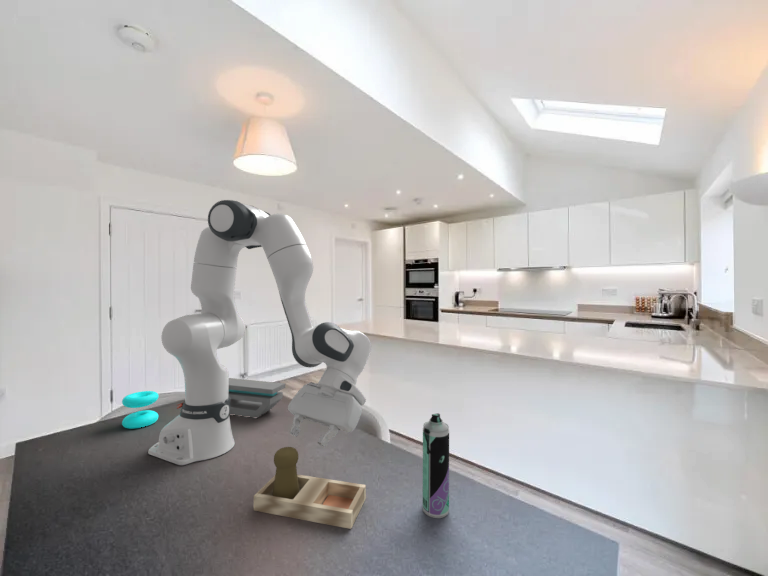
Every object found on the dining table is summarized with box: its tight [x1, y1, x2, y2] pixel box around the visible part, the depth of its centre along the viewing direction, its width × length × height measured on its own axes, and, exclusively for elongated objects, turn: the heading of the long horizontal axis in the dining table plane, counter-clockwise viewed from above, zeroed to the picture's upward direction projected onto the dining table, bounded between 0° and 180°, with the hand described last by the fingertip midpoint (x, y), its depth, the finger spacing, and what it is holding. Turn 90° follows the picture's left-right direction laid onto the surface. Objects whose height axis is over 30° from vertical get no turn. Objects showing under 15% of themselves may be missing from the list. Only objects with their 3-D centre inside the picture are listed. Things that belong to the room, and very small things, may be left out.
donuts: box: [121, 390, 160, 430], centre depth 113 cm, size 10×10×10 cm
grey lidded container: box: [229, 377, 286, 418], centre depth 123 cm, size 25×8×11 cm, turn 74°
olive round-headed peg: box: [272, 446, 300, 499], centre depth 73 cm, size 6×6×11 cm
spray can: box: [422, 412, 450, 519], centre depth 70 cm, size 6×6×20 cm
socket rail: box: [253, 473, 367, 530], centre depth 71 cm, size 22×10×3 cm, turn 76°
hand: (306, 439), depth 77 cm, fingers open, 8 cm apart
